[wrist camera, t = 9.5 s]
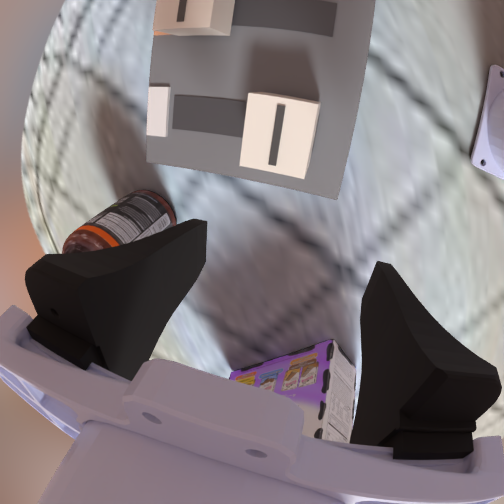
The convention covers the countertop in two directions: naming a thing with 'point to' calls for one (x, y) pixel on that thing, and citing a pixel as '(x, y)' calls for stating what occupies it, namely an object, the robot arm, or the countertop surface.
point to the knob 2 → (279, 133)
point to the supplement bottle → (122, 223)
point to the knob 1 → (194, 17)
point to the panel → (260, 86)
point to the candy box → (312, 387)
